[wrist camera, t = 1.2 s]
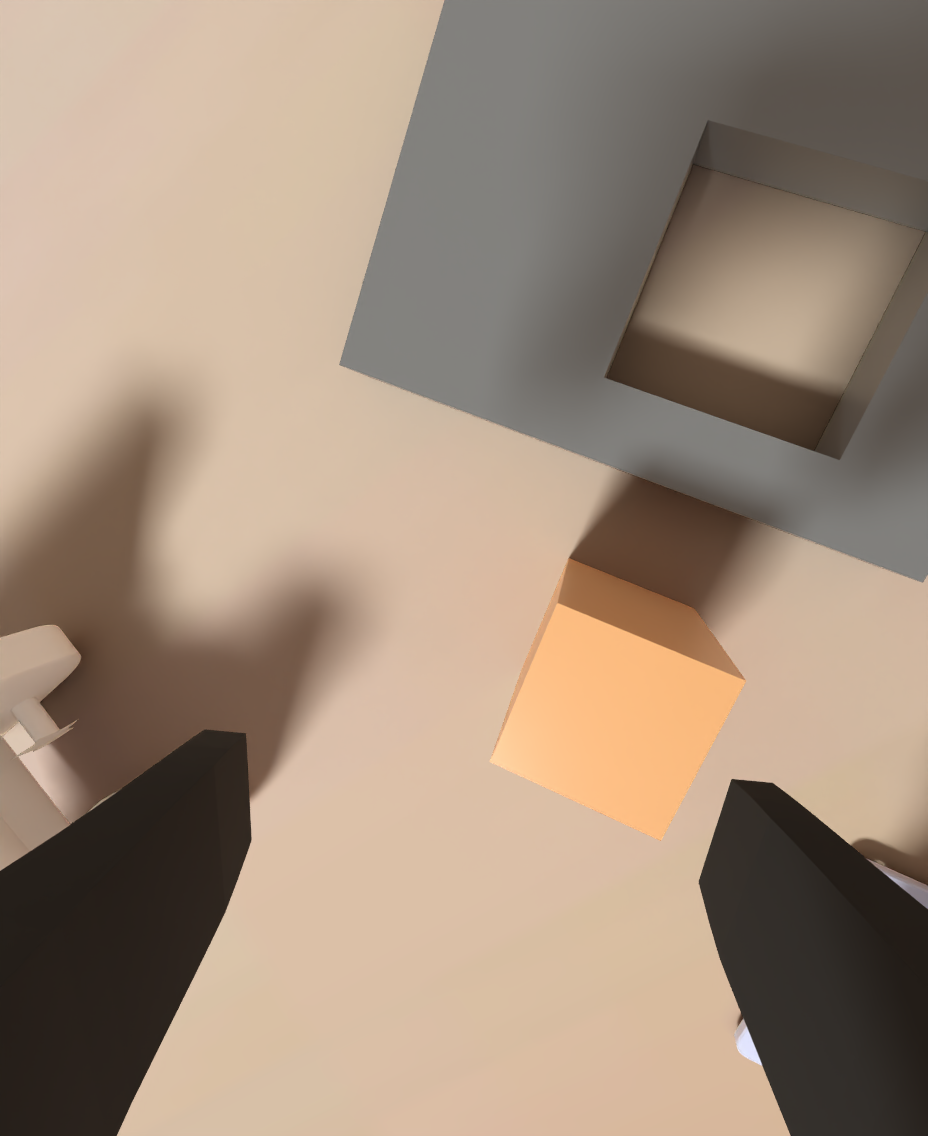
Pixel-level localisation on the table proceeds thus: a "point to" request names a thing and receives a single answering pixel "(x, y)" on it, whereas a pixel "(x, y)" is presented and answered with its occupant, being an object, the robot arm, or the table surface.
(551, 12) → the socket plate
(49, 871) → the robot arm
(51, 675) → the cable organizer
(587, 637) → the orange rectangular block
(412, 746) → the table surface
